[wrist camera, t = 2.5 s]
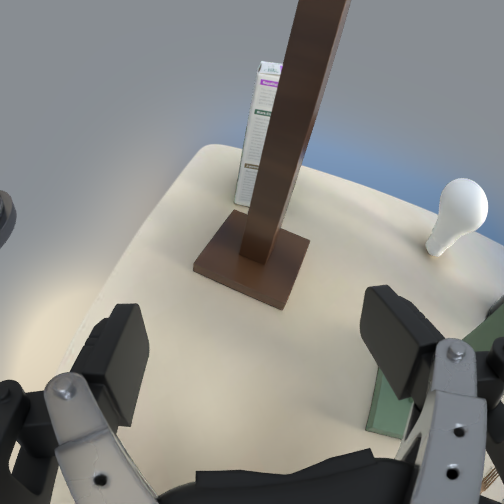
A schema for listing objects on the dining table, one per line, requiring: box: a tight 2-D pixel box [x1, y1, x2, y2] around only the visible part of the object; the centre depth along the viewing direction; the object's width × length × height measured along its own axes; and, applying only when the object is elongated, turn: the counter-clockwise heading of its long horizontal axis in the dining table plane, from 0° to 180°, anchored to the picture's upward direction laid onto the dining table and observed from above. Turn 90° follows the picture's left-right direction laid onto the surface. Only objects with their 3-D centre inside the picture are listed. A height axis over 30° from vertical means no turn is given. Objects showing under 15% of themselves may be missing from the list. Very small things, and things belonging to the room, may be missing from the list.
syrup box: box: [234, 61, 283, 207], centre depth 28 cm, size 6×6×14 cm
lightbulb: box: [426, 178, 488, 257], centre depth 29 cm, size 6×6×11 cm
